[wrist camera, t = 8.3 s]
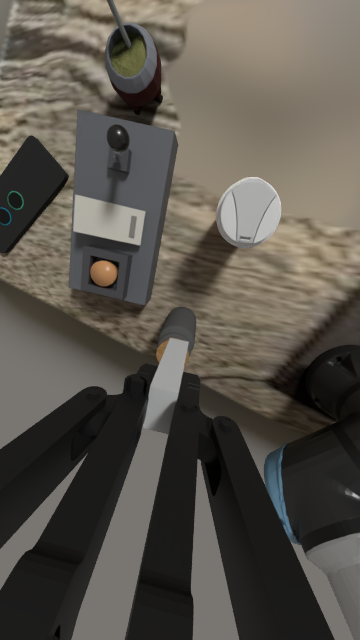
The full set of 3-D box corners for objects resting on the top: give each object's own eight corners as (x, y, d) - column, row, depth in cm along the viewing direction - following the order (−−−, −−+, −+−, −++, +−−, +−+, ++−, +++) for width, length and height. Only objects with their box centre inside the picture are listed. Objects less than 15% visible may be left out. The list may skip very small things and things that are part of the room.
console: (178, 144, 37) (172, 122, 30) (150, 298, 46) (141, 309, 39) (93, 125, 38) (67, 99, 30) (82, 282, 46) (60, 290, 39)
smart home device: (-33, 219, 43) (29, 132, 38) (-25, 220, 45) (36, 136, 39) (2, 255, 45) (67, 176, 39) (9, 254, 47) (72, 178, 41)
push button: (121, 262, 39) (115, 264, 37) (118, 285, 40) (113, 288, 38) (97, 257, 39) (91, 258, 37) (95, 280, 40) (89, 283, 38)
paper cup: (252, 247, 41) (275, 251, 28) (209, 242, 42) (211, 244, 29) (262, 198, 39) (292, 177, 25) (216, 193, 39) (222, 170, 26)
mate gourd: (156, 127, 37) (126, 59, 23) (110, 104, 36) (50, 20, 22) (175, 70, 34) (154, -47, 20) (125, 44, 34) (69, -93, 20)
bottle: (169, 335, 48) (155, 374, 34) (165, 308, 47) (148, 338, 33) (197, 332, 48) (195, 372, 34) (194, 305, 46) (190, 335, 32)
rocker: (145, 211, 36) (145, 211, 35) (140, 244, 38) (140, 245, 36) (77, 195, 34) (74, 194, 33) (75, 231, 36) (72, 231, 35)
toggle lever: (127, 149, 32) (131, 125, 24) (125, 169, 33) (128, 152, 25) (109, 143, 32) (107, 116, 23) (107, 163, 32) (105, 145, 24)
